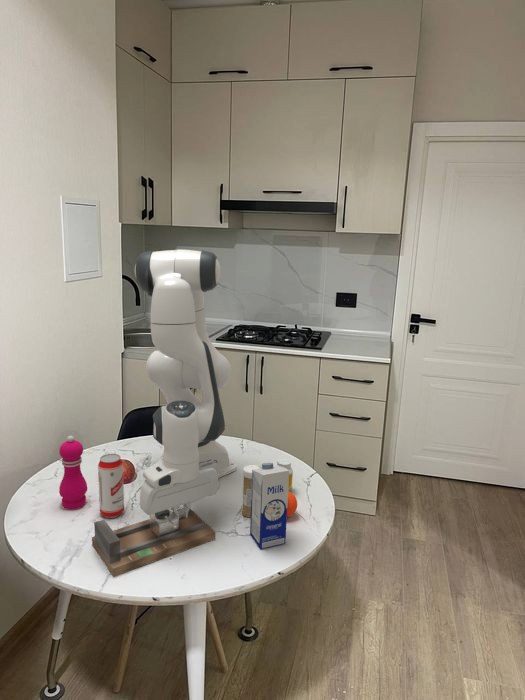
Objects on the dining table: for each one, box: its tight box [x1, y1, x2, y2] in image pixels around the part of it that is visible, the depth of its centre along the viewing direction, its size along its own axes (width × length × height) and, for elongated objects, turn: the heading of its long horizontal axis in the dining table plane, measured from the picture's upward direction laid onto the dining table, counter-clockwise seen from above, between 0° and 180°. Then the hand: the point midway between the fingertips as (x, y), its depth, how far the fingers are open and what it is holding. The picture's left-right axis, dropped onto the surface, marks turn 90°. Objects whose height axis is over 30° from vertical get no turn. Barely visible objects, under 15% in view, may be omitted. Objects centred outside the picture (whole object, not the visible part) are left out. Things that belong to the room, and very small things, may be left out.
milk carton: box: [249, 462, 290, 550], centre depth 129 cm, size 7×7×20 cm
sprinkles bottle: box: [241, 464, 260, 518], centre depth 141 cm, size 5×5×14 cm
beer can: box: [97, 453, 125, 519], centre depth 139 cm, size 6×6×16 cm
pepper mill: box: [58, 435, 88, 510], centre depth 142 cm, size 7×7×20 cm
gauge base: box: [91, 508, 216, 578], centre depth 128 cm, size 26×14×7 cm, turn 126°
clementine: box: [287, 491, 298, 518], centre depth 141 cm, size 8×7×7 cm
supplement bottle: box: [276, 458, 294, 493], centre depth 154 cm, size 5×5×10 cm
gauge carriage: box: [148, 508, 179, 538], centre depth 128 cm, size 5×9×4 cm, turn 36°
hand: (180, 518), depth 132 cm, fingers closed
